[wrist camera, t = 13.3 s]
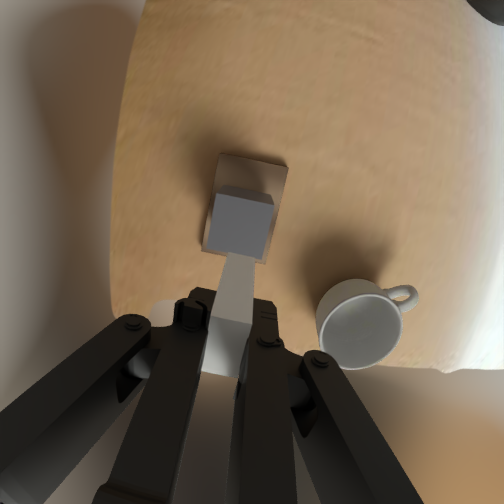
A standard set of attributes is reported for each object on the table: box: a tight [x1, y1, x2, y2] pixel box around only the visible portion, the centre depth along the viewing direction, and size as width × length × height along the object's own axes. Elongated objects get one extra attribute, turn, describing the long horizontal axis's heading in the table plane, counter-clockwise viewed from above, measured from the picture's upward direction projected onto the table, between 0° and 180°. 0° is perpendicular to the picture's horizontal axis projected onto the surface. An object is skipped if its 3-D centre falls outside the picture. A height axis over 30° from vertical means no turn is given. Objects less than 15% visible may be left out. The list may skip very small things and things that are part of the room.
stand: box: [201, 153, 289, 264], centre depth 33 cm, size 12×8×8 cm, turn 168°
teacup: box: [316, 279, 419, 370], centre depth 37 cm, size 14×11×8 cm
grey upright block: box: [206, 185, 275, 260], centre depth 32 cm, size 5×5×7 cm
